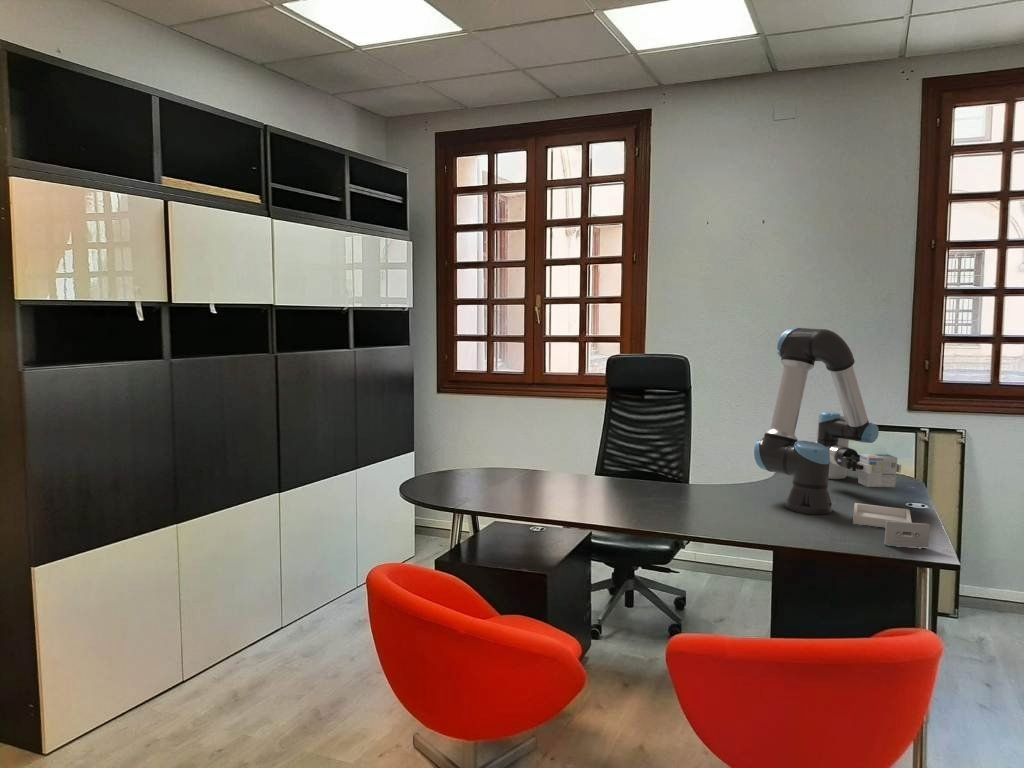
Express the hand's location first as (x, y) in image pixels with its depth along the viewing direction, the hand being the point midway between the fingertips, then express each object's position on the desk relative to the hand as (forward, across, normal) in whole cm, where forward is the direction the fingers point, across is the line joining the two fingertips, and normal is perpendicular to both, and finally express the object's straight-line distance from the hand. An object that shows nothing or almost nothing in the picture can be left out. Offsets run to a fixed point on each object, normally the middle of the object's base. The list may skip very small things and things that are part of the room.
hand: (885, 469), depth 261 cm
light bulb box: (-4, 0, -7) cm, 8 cm away
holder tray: (+11, +10, -15) cm, 21 cm away
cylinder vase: (-48, -15, -14) cm, 52 cm away
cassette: (+35, +22, -16) cm, 44 cm away
